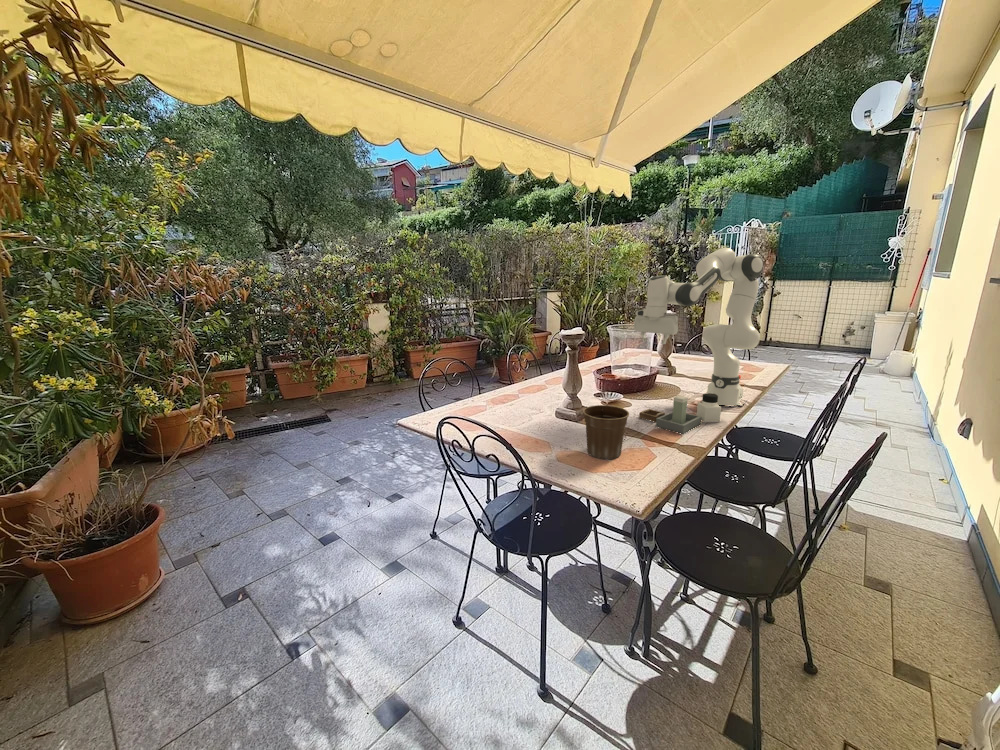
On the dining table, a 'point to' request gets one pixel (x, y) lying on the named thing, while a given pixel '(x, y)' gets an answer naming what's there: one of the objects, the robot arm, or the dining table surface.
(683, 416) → the green rectangular block
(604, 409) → the plant pot
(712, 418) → the medicine bottle
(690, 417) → the tray
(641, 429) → the dining table surface
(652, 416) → the tray
